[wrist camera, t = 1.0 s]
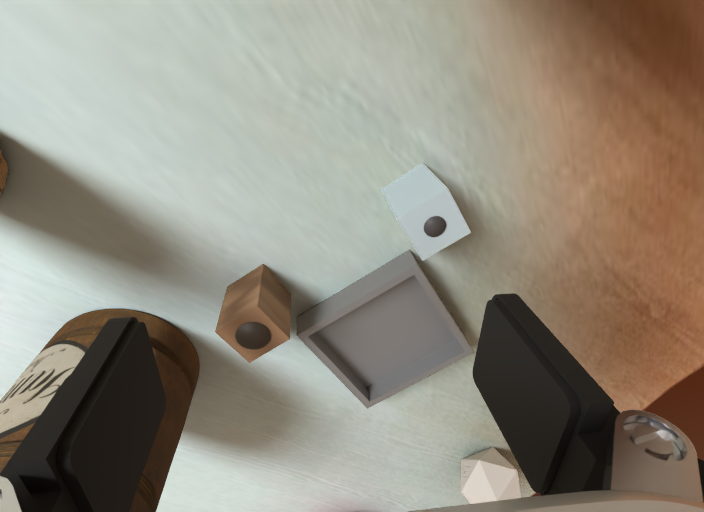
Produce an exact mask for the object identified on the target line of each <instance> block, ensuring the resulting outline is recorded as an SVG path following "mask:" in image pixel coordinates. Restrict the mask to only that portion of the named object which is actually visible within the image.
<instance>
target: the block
mask: <svg viewBox="0 0 704 512" xmlns="http://www.w3.org/2000/svg"><path fill="white" fill-rule="evenodd" d="M7 175H8V166H7V162H6V160H5V159H4V158H3V156H2V152H1V148H0V195H1V193H2V191H3V189H4V186H5V183H6V181H7Z"/></svg>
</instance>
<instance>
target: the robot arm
mask: <svg viewBox="0 0 704 512" xmlns="http://www.w3.org/2000/svg"><path fill="white" fill-rule="evenodd" d="M473 378H474V382H475V384H476V386H477V388H478V389H479V391H480V393H481V395H482V397H483V399H484V401H485V402H486V404H487V406H488V408H489V410H490V412H491V414H492V415H493V417H494V419H495V421H496V423H497V425H498V427H499V428H500V430H501V432H502V434H503V436H504V438H505V440H506V442H507V443H508V445H509V447H510V449H511V451H512V453H513V455H514V456H515V458H516V460H517V462H518V464H519V466H520V468H521V469H522V471H523V473H524V475H525V477H526V479H527V481H528V482H529V484H530V486H531V488H532V489H533V490H534V491H535V492H536V493H540V494H541V496H535V497H525V498H516V499H508V500H499V501H491V502H483V503H475V504H466V505H458V506H450V507H442V508H433V509H425V510H417V511H409V512H704V461H703V460H700V459H698V458H697V454H696V451H695V448H694V446H693V444H692V443H691V441H690V440H689V439H688V437H687V436H686V435H685V434H684V433H683V432H682V431H681V430H679V429H678V428H677V427H676V426H674V425H673V424H671V423H670V422H668V421H667V420H665V419H663V418H661V417H659V416H656V415H655V414H652V413H648V412H645V411H641V410H627V411H623V412H621V413H620V412H619V411H618V410H617V409H616V408H615V407H614V405H613V404H614V402H613V400H612V399H611V398H610V397H609V396H608V395H607V394H606V393H605V391H604V390H603V389H602V388H601V387H600V386H599V385H598V384H597V383H596V381H595V380H594V379H593V378H592V377H591V376H590V375H589V374H588V373H587V371H586V370H585V369H584V368H583V367H582V366H581V365H580V364H579V363H578V361H577V360H576V359H575V358H574V357H573V356H572V355H571V354H570V353H569V351H568V350H567V349H566V348H565V347H564V346H563V345H562V344H561V343H560V341H559V340H558V339H557V338H556V337H555V336H554V335H553V334H552V333H551V331H550V330H549V329H548V328H547V327H546V326H545V325H544V324H543V323H542V321H541V320H540V319H539V318H538V317H537V316H536V315H535V314H534V313H533V311H532V310H531V309H530V308H529V307H528V306H527V305H526V304H525V303H524V301H523V300H522V299H521V298H520V297H519V296H518V295H517V294H497V295H494V297H493V298H492V300H489V301H488V302H487V305H486V309H485V314H484V319H483V324H482V328H481V333H480V338H479V343H478V347H477V352H476V357H475V362H474V367H473ZM165 408H166V395H165V391H164V388H163V384H162V381H161V377H160V374H159V370H158V367H157V363H156V360H155V356H154V352H153V349H152V345H151V342H150V338H149V335H148V331H147V328H146V325H145V323H144V322H138V320H137V318H136V317H123V318H111V319H109V320H108V321H107V322H106V324H105V325H104V327H103V328H102V329H101V331H100V332H99V334H98V335H97V337H96V338H95V340H94V341H93V343H92V344H91V346H90V347H89V349H88V350H87V351H86V353H85V354H84V356H83V357H82V359H81V360H80V362H79V363H78V365H77V366H76V368H75V369H74V371H73V372H72V373H71V375H69V376H68V377H67V378H66V379H65V380H64V382H63V383H62V384H61V386H60V387H59V389H58V390H57V392H56V393H55V395H54V396H53V397H52V399H51V400H50V402H49V403H48V405H47V406H46V408H45V409H44V411H43V412H42V413H41V415H40V416H39V418H38V419H37V421H36V422H35V424H34V425H33V427H32V428H31V429H30V431H29V432H28V434H27V435H26V437H25V438H24V440H23V441H22V442H21V444H20V445H19V447H18V448H17V450H16V451H15V453H14V454H13V456H12V457H11V458H10V460H9V461H8V463H7V464H6V466H5V467H4V469H3V470H2V471H1V473H0V512H129V510H130V507H131V505H132V502H133V499H134V496H135V493H136V491H137V488H138V485H139V482H140V479H141V476H142V474H143V471H144V468H145V465H146V462H147V460H148V457H149V454H150V451H151V448H152V446H153V443H154V440H155V437H156V434H157V431H158V429H159V426H160V423H161V420H162V417H163V415H164V412H165Z"/></svg>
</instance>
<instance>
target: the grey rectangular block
mask: <svg viewBox="0 0 704 512" xmlns="http://www.w3.org/2000/svg"><path fill="white" fill-rule="evenodd" d="M380 190H381V192H382V194H383V195H384V197H385V199H386V201H387V203H388V205H389V207H390V208H391V210H392V212H393V214H394V216H395V218H396V220H397V221H398V223H399V224H400V226H401V228H402V229H403V231H404V232H405V234H406V235H407V237H408V239H409V240H410V242H411V243H412V245H413V247H414V248H415V250H416V251H417V253H418V254H419V256H420V258H421V259H422V261H424V260H425V259H427V258H429V257H430V256H432V255H434V254H435V253H437V252H439V251H441V250H442V249H444V248H446V247H447V246H449V245H451V244H452V243H454V242H456V241H458V240H459V239H461V238H463V237H464V236H466V235H468V234H469V233H471V231H470V229H469V227H468V225H467V224H466V222H465V220H464V218H463V216H462V214H461V212H460V210H459V208H458V206H457V205H456V203H455V201H454V199H453V197H452V195H451V193H450V191H449V189H448V188H447V187H446V186H445V185H444V184H443V183H442V182H441V181H440V180H439V179H438V178H437V177H436V176H435V175H434V174H433V173H432V172H431V171H430V170H429V169H428V168H427V167H426V165H425V164H424V163H421V164H420V165H418V166H416V167H415V168H413V169H412V170H410V171H409V172H407V173H405V174H404V175H402V176H401V177H399V178H398V179H396V180H394V181H393V182H391V183H390V184H388V185H387V186H385V187H383V188H382V189H380Z"/></svg>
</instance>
